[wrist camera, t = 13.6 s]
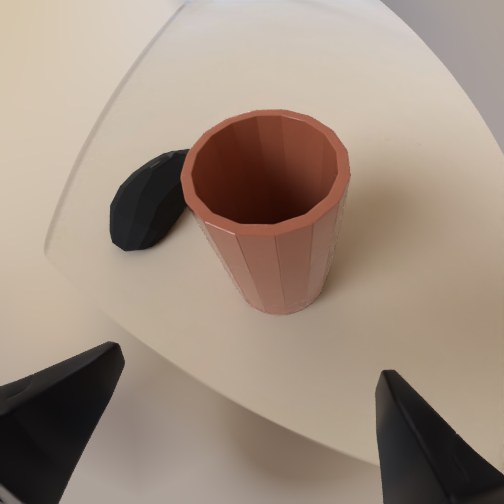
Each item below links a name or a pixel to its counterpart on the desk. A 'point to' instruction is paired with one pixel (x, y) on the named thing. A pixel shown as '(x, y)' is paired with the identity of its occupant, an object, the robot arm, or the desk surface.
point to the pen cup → (270, 203)
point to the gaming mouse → (148, 202)
